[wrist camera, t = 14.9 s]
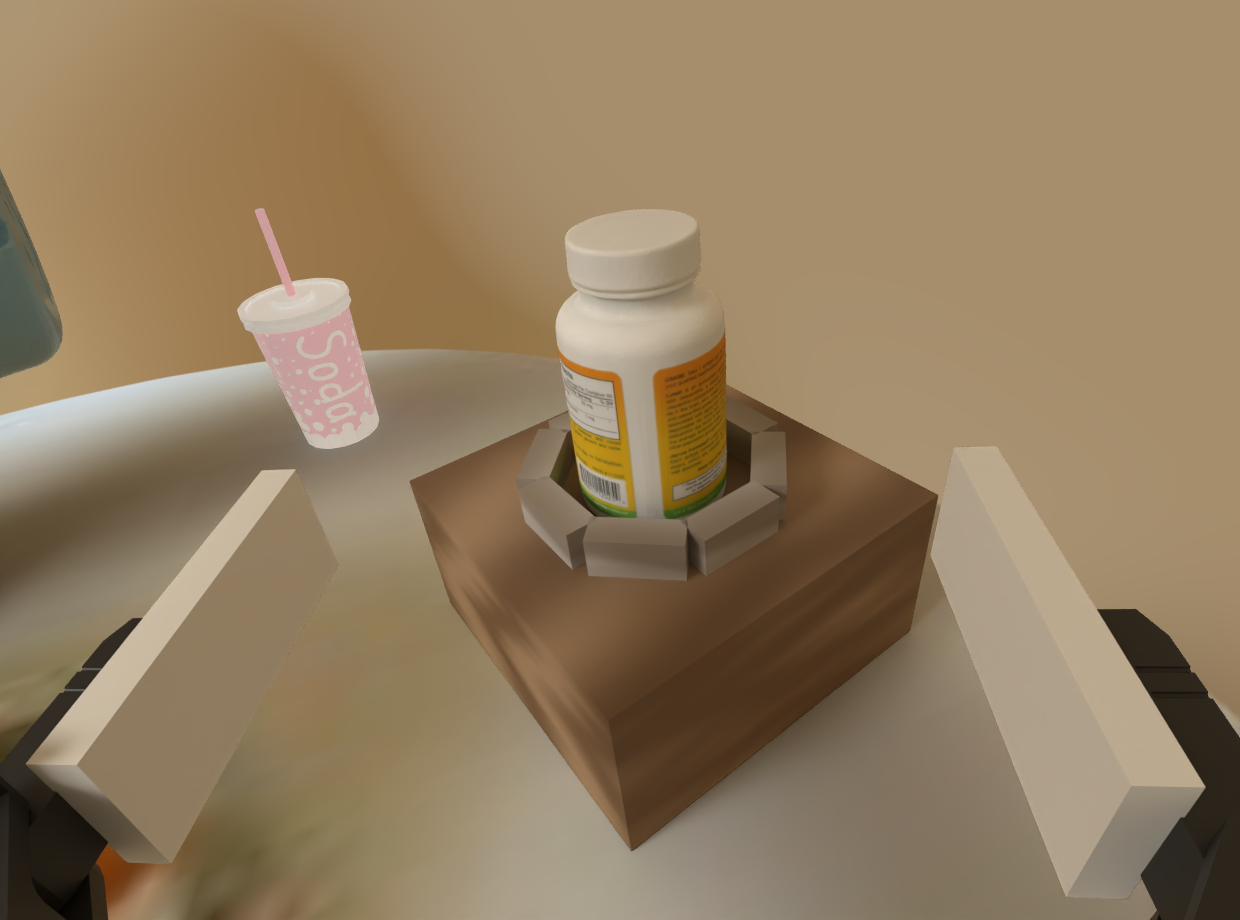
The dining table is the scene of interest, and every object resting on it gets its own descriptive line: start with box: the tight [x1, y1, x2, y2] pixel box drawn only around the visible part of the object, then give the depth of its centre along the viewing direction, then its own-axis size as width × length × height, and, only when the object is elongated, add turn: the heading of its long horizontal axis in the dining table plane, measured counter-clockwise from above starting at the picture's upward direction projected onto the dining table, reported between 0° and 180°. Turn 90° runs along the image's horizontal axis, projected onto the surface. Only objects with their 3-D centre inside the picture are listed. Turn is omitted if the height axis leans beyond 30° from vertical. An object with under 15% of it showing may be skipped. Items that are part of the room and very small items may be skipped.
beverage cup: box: [237, 208, 379, 449], centre depth 42 cm, size 6×6×14 cm
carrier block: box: [410, 385, 938, 851], centre depth 28 cm, size 14×14×8 cm
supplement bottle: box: [556, 209, 727, 520], centre depth 24 cm, size 5×5×10 cm
